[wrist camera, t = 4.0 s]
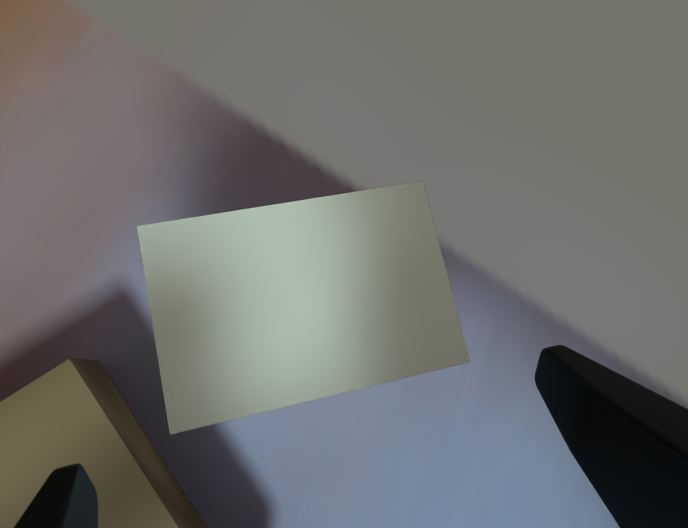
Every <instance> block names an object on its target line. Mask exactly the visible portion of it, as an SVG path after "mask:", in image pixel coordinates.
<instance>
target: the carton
mask: <svg viewBox="0 0 688 528" xmlns="http://www.w3.org/2000/svg"><path fill="white" fill-rule="evenodd" d="M137 228H138V235H139V241H140V248H141V254H142V260H143V267H144V273H145V279H146V286H147V292H148V299H149V305H150V311H151V318H152V324H153V330H154V337H155V343H156V350H157V356H158V362H159V369H160V375H161V381H162V388H163V394H164V401H165V407H166V413H167V420H168V426H169V432H170V435H171V434H175V433H179V432H183V431H187V430H192V429H196V428H200V427H204V426H208V425H212V424H216V423H220V422H225V421H229V420H233V419H237V418H241V417H245V416H249V415H253V414H258V413H262V412H266V411H270V410H274V409H278V408H282V407H287V406H291V405H295V404H299V403H303V402H307V401H311V400H315V399H320V398H324V397H328V396H332V395H336V394H340V393H344V392H348V391H353V390H357V389H361V388H365V387H369V386H373V385H377V384H381V383H386V382H390V381H394V380H398V379H402V378H406V377H410V376H414V375H419V374H423V373H427V372H431V371H435V370H439V369H443V368H448V367H452V366H456V365H460V364H464V363H468V362H470V360H469V356H468V352H467V348H466V345H465V341H464V337H463V333H462V329H461V325H460V322H459V318H458V314H457V310H456V306H455V302H454V299H453V295H452V291H451V287H450V283H449V279H448V275H447V272H446V268H445V264H444V260H443V256H442V252H441V249H440V245H439V241H438V237H437V233H436V230H435V226H434V222H433V218H432V214H431V210H430V207H429V203H428V199H427V195H426V191H425V187H424V184H423V181H419V182H413V183H407V184H401V185H394V186H388V187H381V188H375V189H369V190H363V191H356V192H350V193H344V194H337V195H331V196H325V197H318V198H312V199H306V200H300V201H293V202H287V203H281V204H274V205H268V206H262V207H255V208H249V209H243V210H236V211H230V212H224V213H218V214H211V215H205V216H199V217H192V218H186V219H180V220H173V221H167V222H161V223H155V224H148V225H142V226H137Z"/></svg>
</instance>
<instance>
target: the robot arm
mask: <svg viewBox="0 0 688 528" xmlns="http://www.w3.org/2000/svg"><path fill="white" fill-rule="evenodd" d="M535 383H536V386H537V388H538V390H539V392H540V394H541V396H542V398H543V400H544V402H545V404H546V406H547V407H548V409H549V411H550V413H551V415H552V417H553V419H554V421H555V423H556V425H557V427H558V429H559V431H560V433H561V434H562V436H563V438H564V440H565V442H566V444H567V446H568V447H569V449H570V451H571V453H572V454H573V456H574V458H575V459H576V461H577V462H578V464H579V465H580V467H581V468H582V470H583V472H584V473H585V475H586V476H587V478H588V479H589V481H590V482H591V484H592V485H593V487H594V488H595V490H596V491H597V493H598V494H599V496H600V498H601V499H602V501H603V502H604V504H605V505H606V507H607V508H608V510H609V511H610V513H611V514H612V516H613V517H614V519H615V520H616V522H617V524H618V525H619V527H620V528H688V409H687V408H685V407H683V406H681V405H679V404H677V403H675V402H673V401H671V400H669V399H667V398H665V397H663V396H661V395H659V394H657V393H655V392H653V391H651V390H649V389H647V388H646V387H644V386H642V385H640V384H638V383H636V382H634V381H632V380H630V379H628V378H626V377H624V376H622V375H620V374H618V373H616V372H614V371H612V370H610V369H608V368H606V367H605V366H603V365H601V364H599V363H597V362H595V361H593V360H591V359H589V358H587V357H585V356H583V355H581V354H579V353H577V352H575V351H573V350H571V349H569V348H567V347H565V346H562V345H556V346H552V347H548V348H545V349H543V350H542V351H541V353H540V357H539V361H538V365H537V368H536V372H535ZM14 528H98V498H97V492H96V489H95V487H94V485H93V483H92V482H91V480H90V478H89V476H88V474H87V472H86V471H85V469H84V467H83V466H82V465H81V464H79V463H75V464H71V465H67V466H63V467H59V468H56V469H55V470H54V471H52V472H51V474H50V475H49V477H48V478H47V479H46V481H45V482H44V484H43V485H42V487H41V488H40V490H39V491H38V493H37V494H36V496H35V497H34V499H33V500H32V501H31V503H30V504H29V506H28V507H27V509H26V510H25V512H24V513H23V515H22V516H21V518H20V519H19V521H18V522H17V523H16V525H15V526H14Z"/></svg>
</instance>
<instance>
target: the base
mask: <svg viewBox="0 0 688 528" xmlns="http://www.w3.org/2000/svg"><path fill="white" fill-rule="evenodd" d="M75 463H79V464H81V465H82V466H83V467H84V469H85V471H86V472H87V474H88V476H89V478H90V480H91V482H92V483H93V485H94V487H95V489H96V492H97V498H98V528H207V527H206V526H205V524H204V523H203V521H202V520H201V518H200V516H199V515H198V513H197V512H196V510H195V509H194V507H193V506H192V504H191V503H190V501H189V500H188V498H187V497H186V495H185V493H184V492H183V490H182V489H181V487H180V486H179V484H178V483H177V481H176V480H175V478H174V477H173V475H172V473H171V472H170V470H169V469H168V467H167V466H166V464H165V463H164V461H163V460H162V458H161V457H160V455H159V454H158V452H157V450H156V449H155V447H154V446H153V444H152V443H151V441H150V440H149V438H148V437H147V435H146V434H145V432H144V430H143V429H142V427H141V426H140V424H139V423H138V421H137V420H136V418H135V417H134V415H133V414H132V412H131V411H130V409H129V407H128V406H127V404H126V403H125V401H124V400H123V398H122V397H121V395H120V394H119V392H118V391H117V389H116V387H115V386H114V384H113V383H112V381H111V380H110V378H109V377H108V375H107V374H106V372H105V371H104V369H103V368H102V366H101V364H100V363H99V361H92V360H80V359H68V360H66V361H65V362H63V363H61V364H60V365H58V366H57V367H55V368H54V369H52V370H50V371H49V372H47V373H46V374H44V375H42V376H41V377H39V378H38V379H36V380H34V381H33V382H31V383H30V384H28V385H26V386H25V387H23V388H22V389H20V390H19V391H17V392H15V393H14V394H12V395H11V396H9V397H7V398H6V399H4V400H3V401H1V402H0V528H14V526H15V525H16V523H17V522H18V521H19V519H20V518H21V516H22V515H23V513H24V512H25V510H26V509H27V507H28V506H29V504H30V503H31V501H32V500H33V499H34V497H35V496H36V494H37V493H38V491H39V490H40V488H41V487H42V485H43V484H44V482H45V481H46V479H47V478H48V477H49V475H50V474H51V472H52V471H54V470H55V469H56V468H59V467H63V466H67V465H71V464H75Z"/></svg>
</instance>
